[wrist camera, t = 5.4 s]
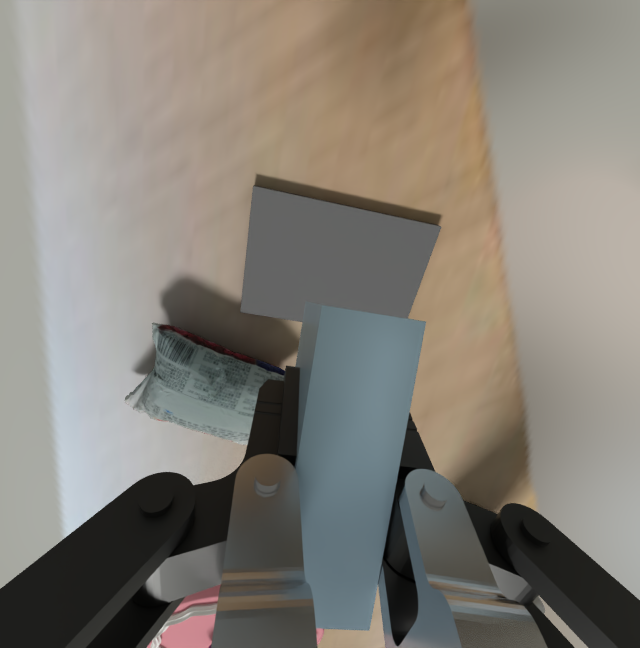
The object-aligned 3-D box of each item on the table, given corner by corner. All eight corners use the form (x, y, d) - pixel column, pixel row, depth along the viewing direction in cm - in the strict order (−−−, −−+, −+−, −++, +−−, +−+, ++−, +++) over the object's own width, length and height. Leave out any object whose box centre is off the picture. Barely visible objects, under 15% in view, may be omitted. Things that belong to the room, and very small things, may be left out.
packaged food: (259, 428, 30) (253, 473, 26) (134, 386, 27) (103, 428, 23) (300, 361, 27) (300, 399, 23) (163, 305, 24) (133, 336, 20)
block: (360, 309, 12) (425, 322, 6) (332, 476, 13) (369, 630, 7) (305, 301, 12) (322, 305, 6) (279, 471, 13) (270, 626, 7)
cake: (167, 619, 47) (135, 732, 38) (126, 520, 36) (65, 647, 27) (331, 609, 49) (338, 715, 40) (341, 512, 38) (355, 628, 28)
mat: (437, 225, 22) (441, 226, 22) (398, 333, 26) (400, 337, 26) (254, 185, 20) (253, 186, 20) (241, 309, 24) (240, 312, 24)
